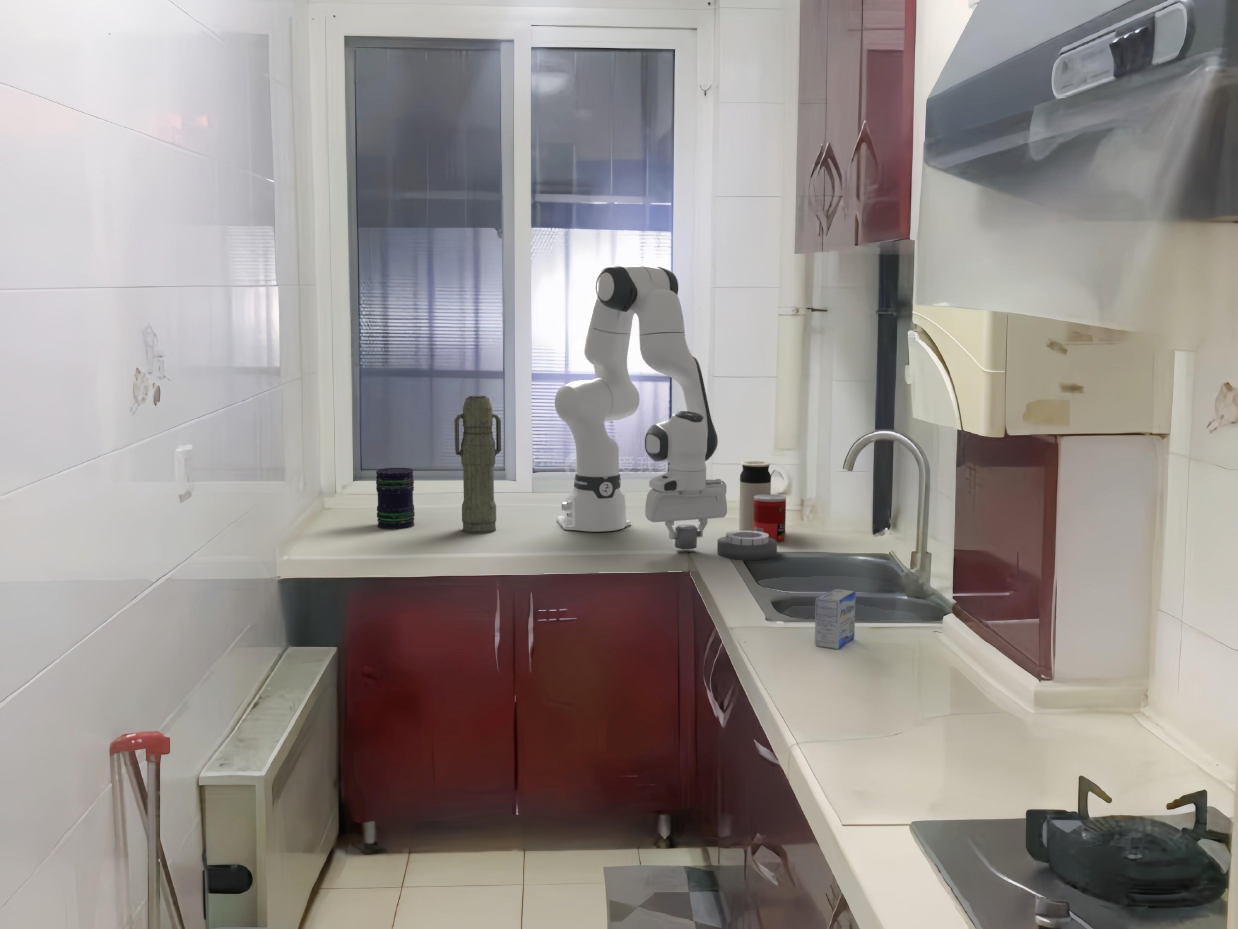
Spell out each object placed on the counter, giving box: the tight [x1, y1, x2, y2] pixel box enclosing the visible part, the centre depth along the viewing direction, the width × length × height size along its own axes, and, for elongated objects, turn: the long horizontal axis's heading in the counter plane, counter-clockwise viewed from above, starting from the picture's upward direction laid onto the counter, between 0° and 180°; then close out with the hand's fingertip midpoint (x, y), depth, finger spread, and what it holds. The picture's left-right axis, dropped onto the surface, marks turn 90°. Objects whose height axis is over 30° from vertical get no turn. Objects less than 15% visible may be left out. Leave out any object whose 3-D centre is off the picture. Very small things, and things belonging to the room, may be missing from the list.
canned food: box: [753, 493, 787, 543], centre depth 282 cm, size 8×8×11 cm
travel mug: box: [738, 460, 772, 531], centre depth 292 cm, size 8×8×18 cm
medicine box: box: [814, 588, 856, 651], centre depth 195 cm, size 8×4×9 cm, turn 148°
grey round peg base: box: [716, 530, 778, 561], centre depth 267 cm, size 14×14×4 cm
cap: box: [674, 524, 698, 550], centre depth 269 cm, size 5×5×5 cm
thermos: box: [454, 395, 502, 534], centre depth 292 cm, size 9×12×35 cm
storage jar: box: [375, 467, 415, 530], centre depth 299 cm, size 10×10×15 cm
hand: (685, 538), depth 269 cm, fingers closed on cap, 5 cm apart
